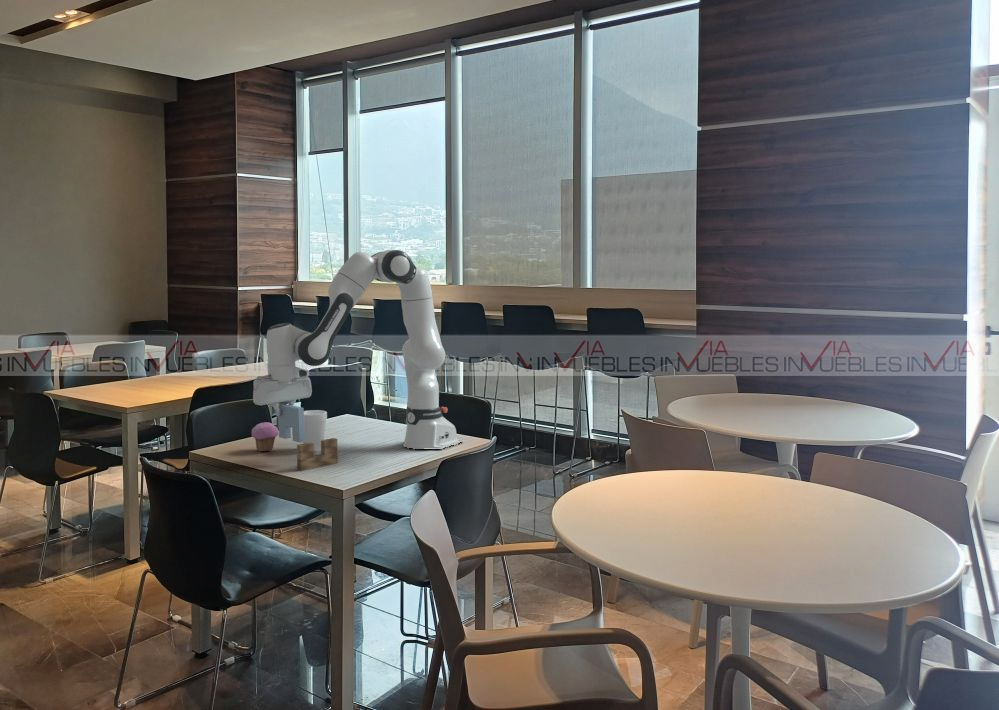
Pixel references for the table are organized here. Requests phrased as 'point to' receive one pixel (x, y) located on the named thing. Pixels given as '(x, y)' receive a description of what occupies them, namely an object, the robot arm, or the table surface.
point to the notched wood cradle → (310, 460)
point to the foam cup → (315, 427)
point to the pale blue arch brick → (291, 422)
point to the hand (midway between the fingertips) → (283, 414)
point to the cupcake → (264, 436)
